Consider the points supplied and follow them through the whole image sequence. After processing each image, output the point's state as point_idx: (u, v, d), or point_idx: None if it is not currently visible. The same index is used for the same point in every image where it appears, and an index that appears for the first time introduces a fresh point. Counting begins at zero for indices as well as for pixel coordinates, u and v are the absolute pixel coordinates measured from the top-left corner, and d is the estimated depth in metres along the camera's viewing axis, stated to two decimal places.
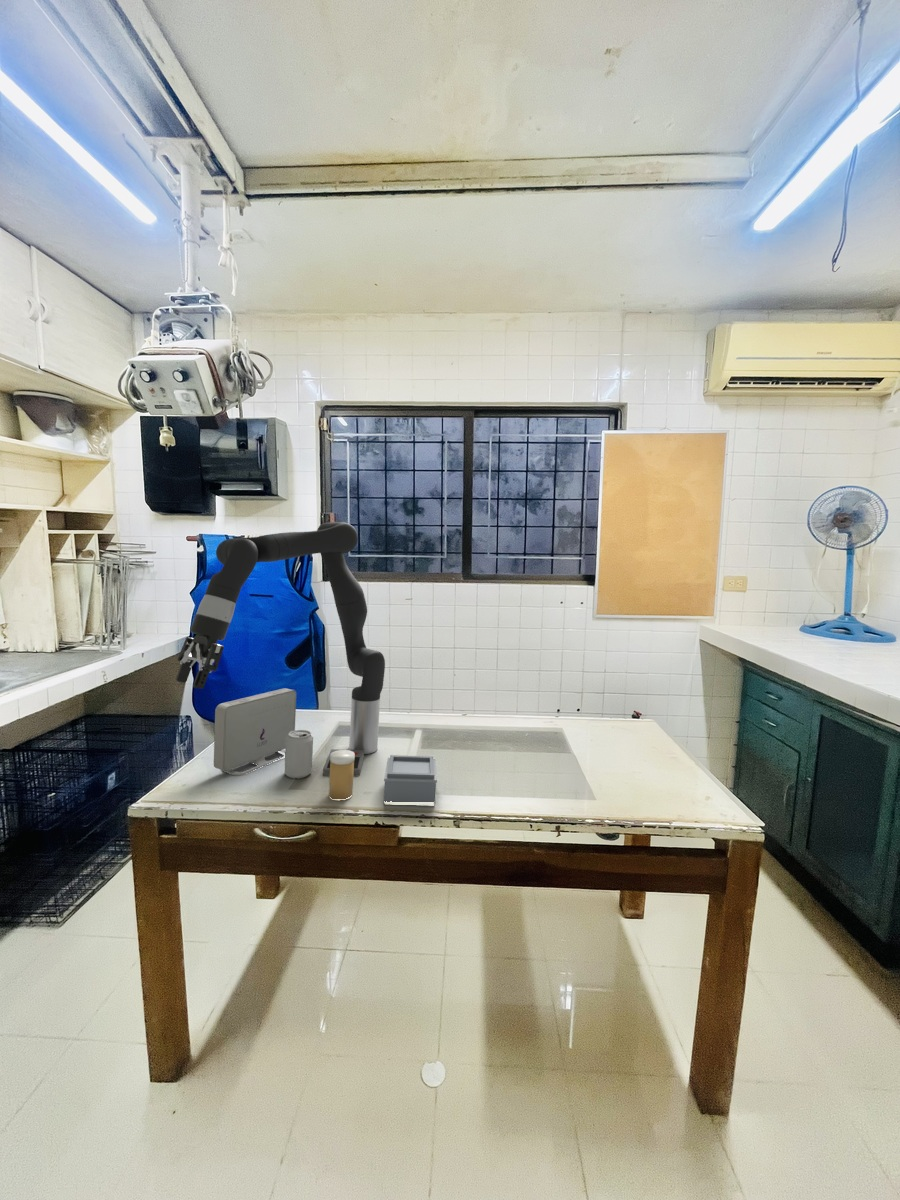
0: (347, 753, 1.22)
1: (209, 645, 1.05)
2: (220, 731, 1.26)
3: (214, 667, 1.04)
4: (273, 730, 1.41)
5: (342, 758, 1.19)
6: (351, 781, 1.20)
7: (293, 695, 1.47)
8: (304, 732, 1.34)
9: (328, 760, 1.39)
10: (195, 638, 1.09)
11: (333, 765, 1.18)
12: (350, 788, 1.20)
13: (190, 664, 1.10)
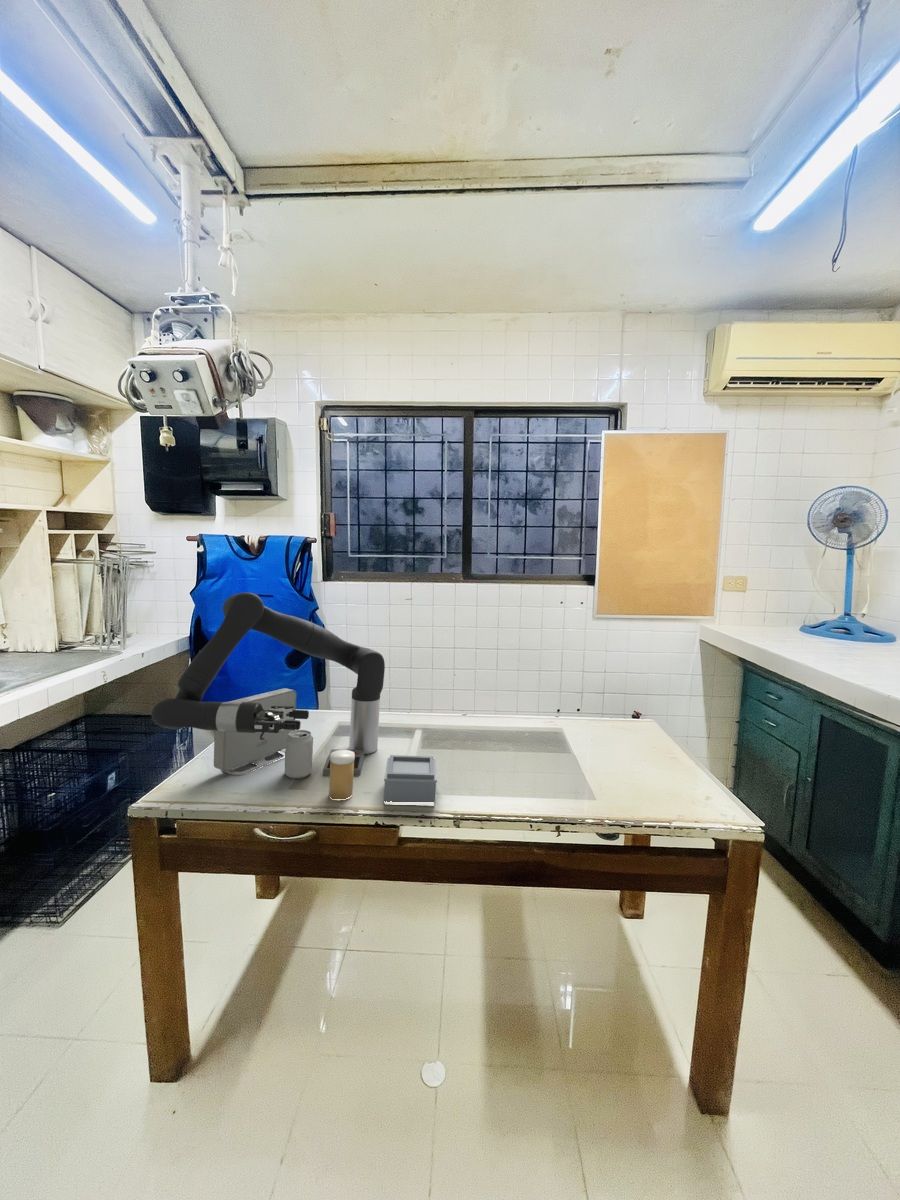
0: (347, 753, 1.22)
1: None
2: (220, 731, 1.26)
3: (275, 725, 1.12)
4: None
5: (342, 758, 1.19)
6: (351, 781, 1.20)
7: (293, 695, 1.47)
8: (304, 732, 1.34)
9: (328, 760, 1.39)
10: None
11: (333, 765, 1.18)
12: (350, 788, 1.20)
13: (291, 711, 1.23)
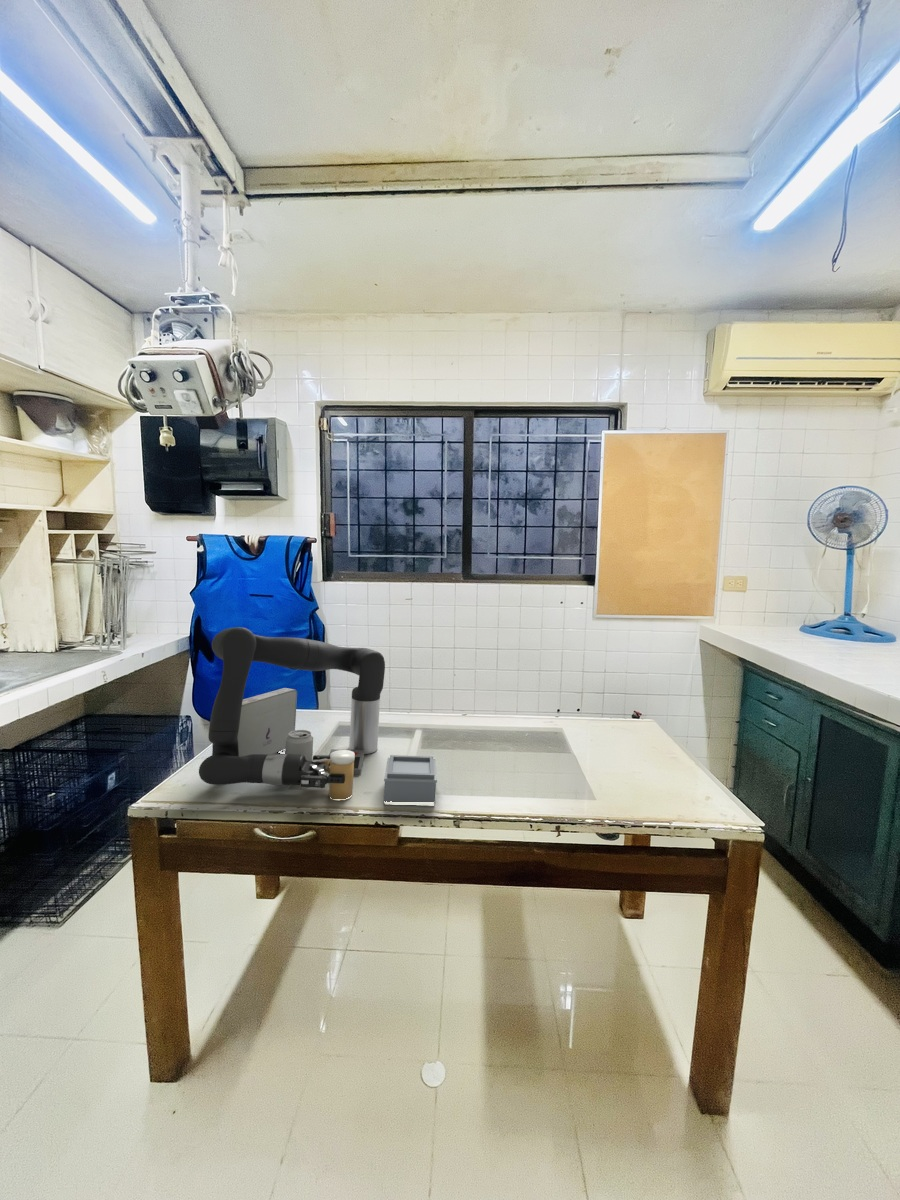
0: (347, 753, 1.22)
1: None
2: None
3: (321, 780, 1.14)
4: (277, 730, 1.41)
5: (342, 758, 1.19)
6: (351, 781, 1.20)
7: (294, 694, 1.48)
8: (304, 732, 1.34)
9: None
10: None
11: (333, 765, 1.18)
12: (350, 788, 1.20)
13: None
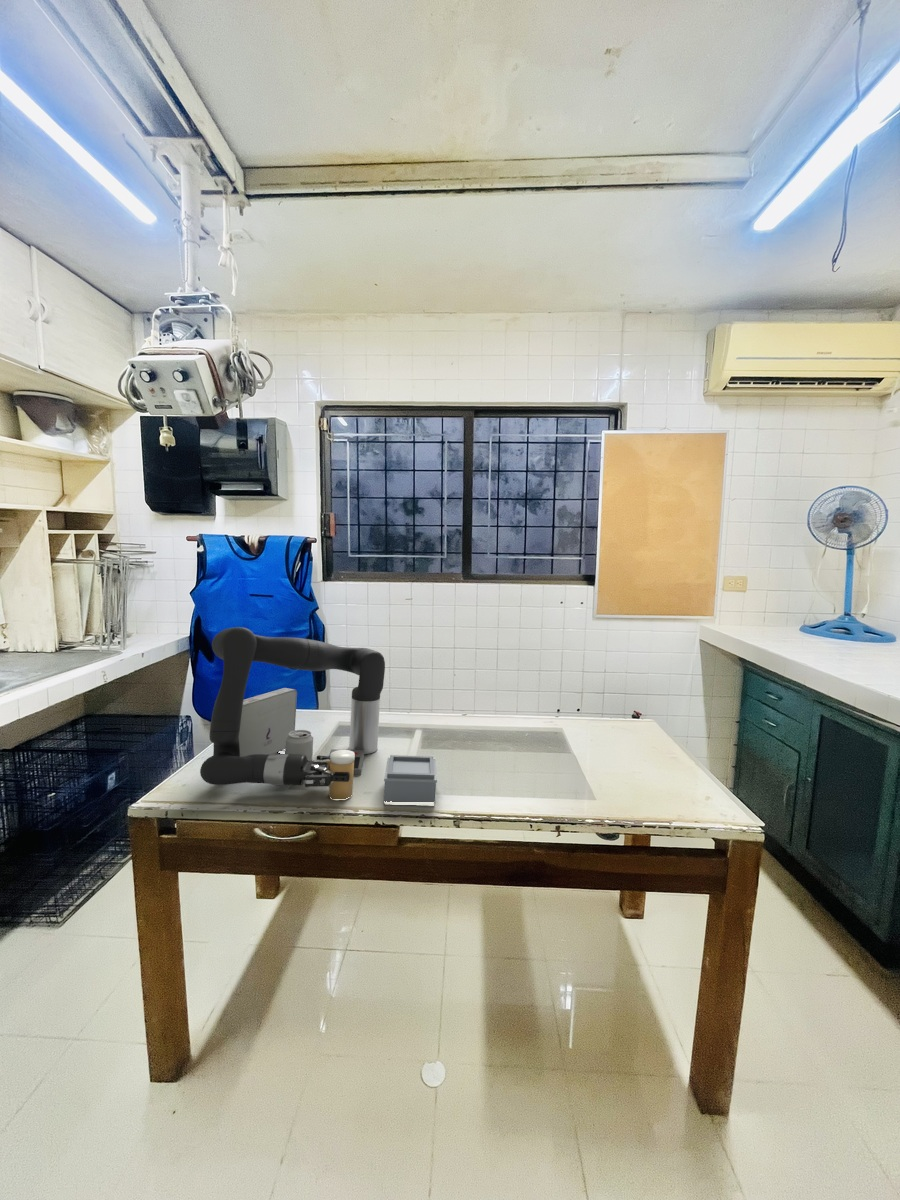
0: (347, 753, 1.22)
1: None
2: None
3: (326, 779, 1.15)
4: (277, 730, 1.41)
5: (342, 758, 1.19)
6: (351, 781, 1.20)
7: (294, 694, 1.48)
8: (304, 732, 1.34)
9: None
10: None
11: (333, 765, 1.18)
12: (350, 788, 1.20)
13: None
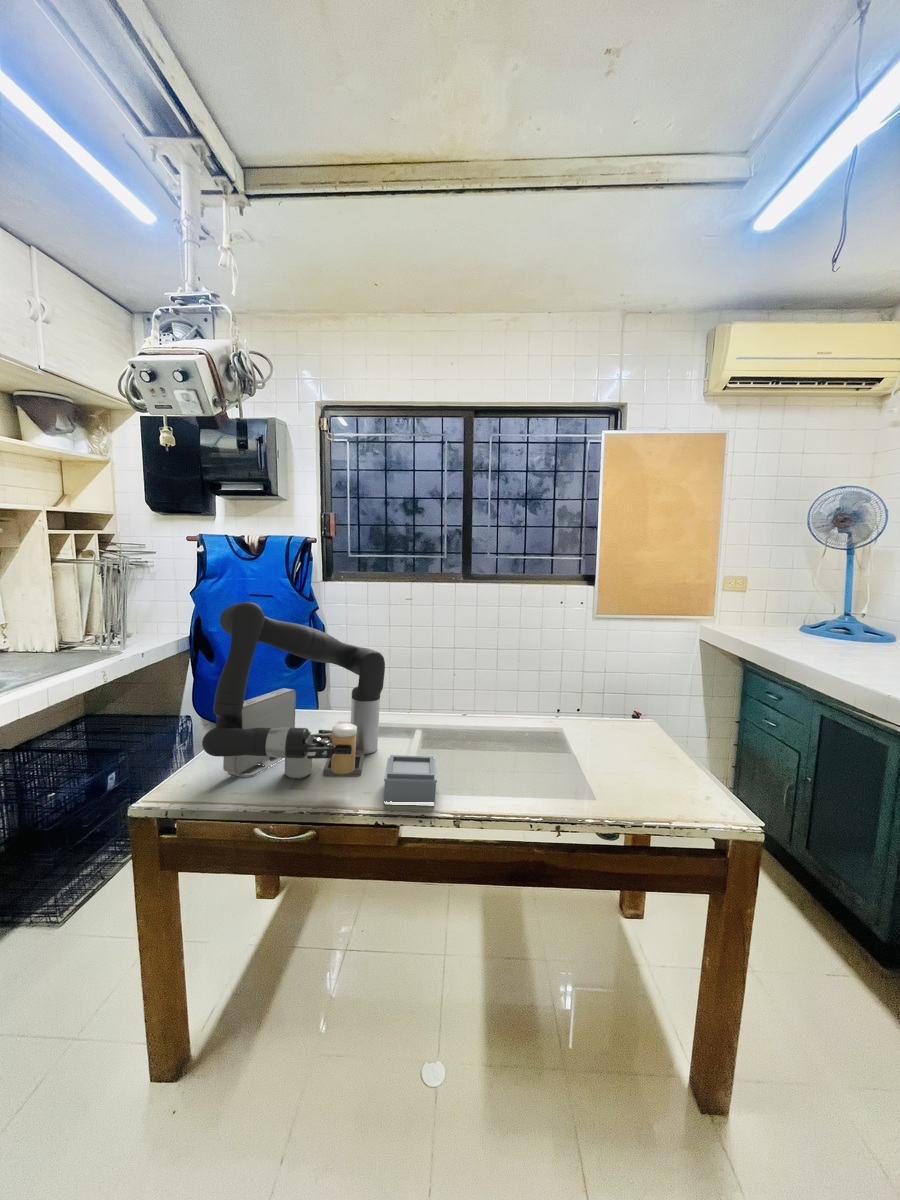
0: (349, 726, 1.21)
1: None
2: None
3: (328, 751, 1.15)
4: None
5: (344, 730, 1.18)
6: (353, 754, 1.20)
7: (293, 694, 1.47)
8: None
9: (328, 760, 1.39)
10: None
11: (336, 738, 1.18)
12: (352, 761, 1.20)
13: None
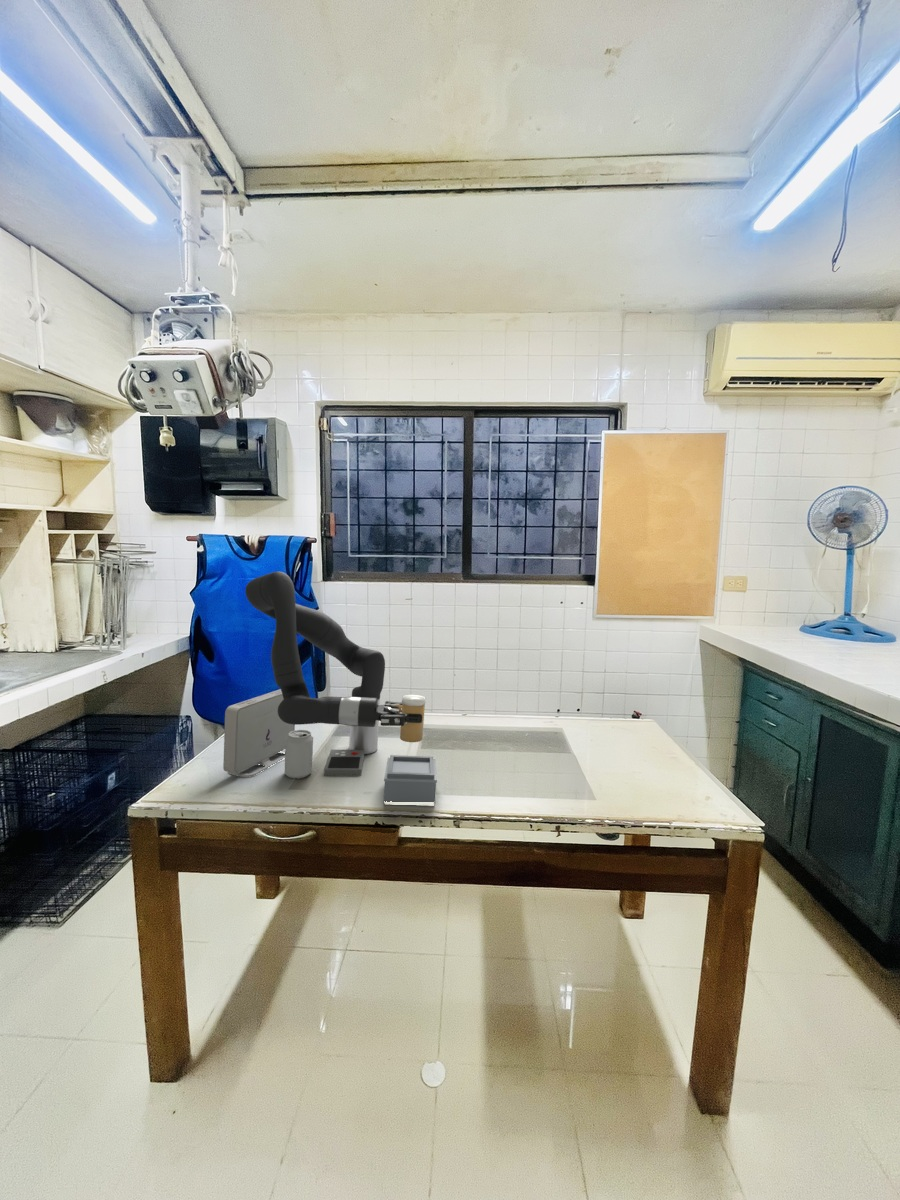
0: (418, 697, 1.24)
1: None
2: (232, 733, 1.25)
3: (401, 718, 1.17)
4: (277, 731, 1.41)
5: (415, 700, 1.21)
6: (422, 723, 1.22)
7: None
8: (304, 732, 1.34)
9: (329, 760, 1.39)
10: None
11: (406, 707, 1.21)
12: (421, 730, 1.22)
13: None
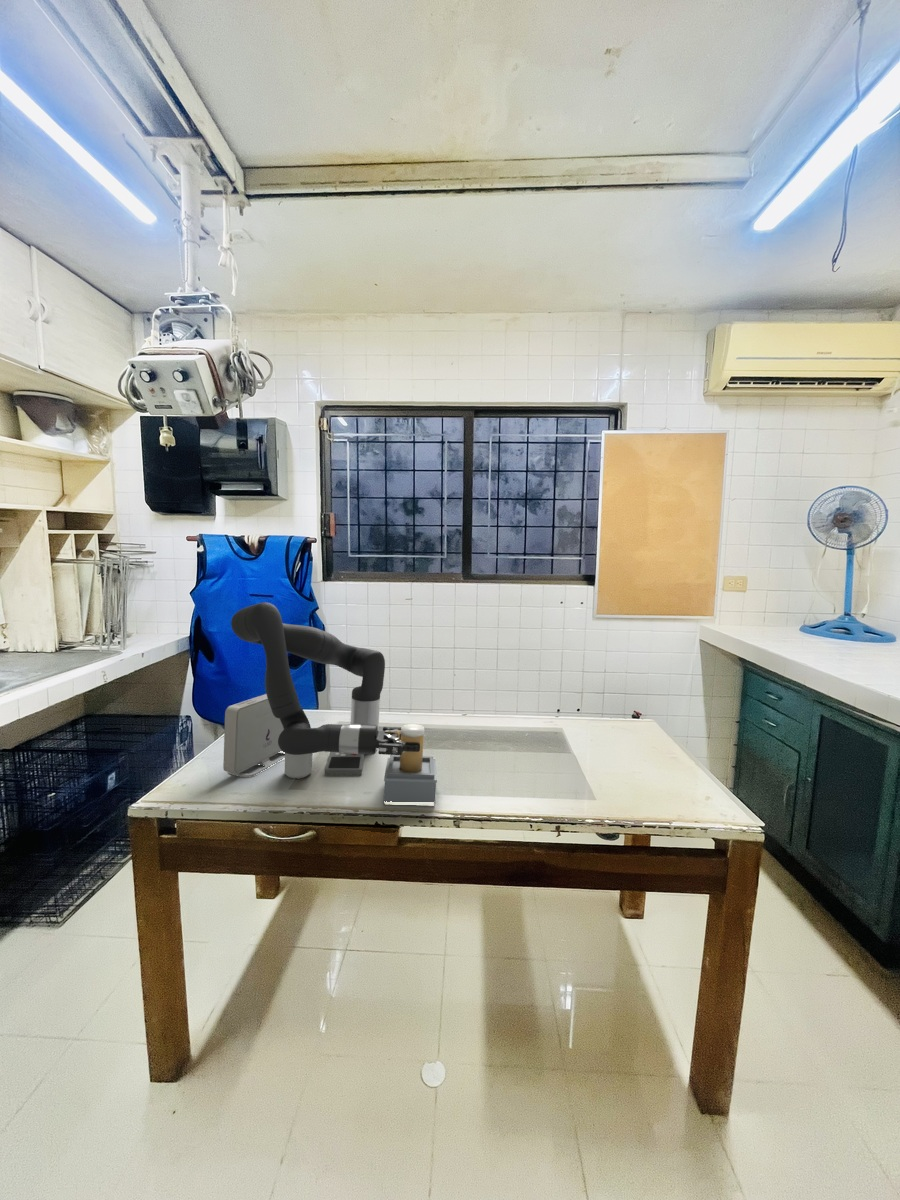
0: (417, 727, 1.24)
1: None
2: (232, 733, 1.25)
3: (399, 748, 1.17)
4: (277, 731, 1.41)
5: (414, 731, 1.21)
6: (421, 754, 1.23)
7: None
8: None
9: (329, 760, 1.39)
10: None
11: (405, 738, 1.21)
12: (421, 761, 1.23)
13: None
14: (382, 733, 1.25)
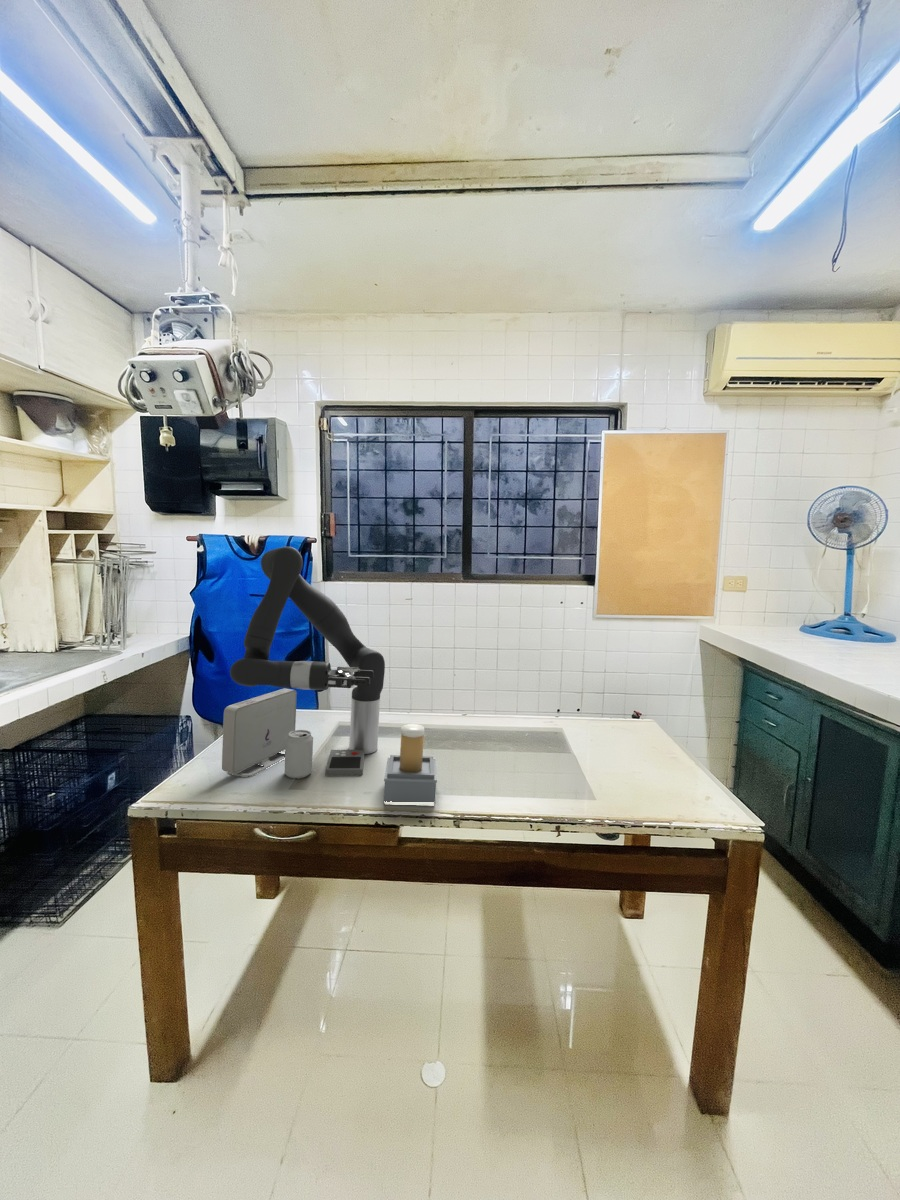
0: (417, 727, 1.24)
1: None
2: (230, 733, 1.25)
3: (347, 681, 1.19)
4: (277, 731, 1.41)
5: (413, 731, 1.21)
6: (421, 754, 1.23)
7: (294, 695, 1.47)
8: (304, 732, 1.34)
9: (329, 760, 1.39)
10: None
11: (405, 738, 1.21)
12: (420, 761, 1.23)
13: (357, 671, 1.30)
14: (335, 671, 1.27)
